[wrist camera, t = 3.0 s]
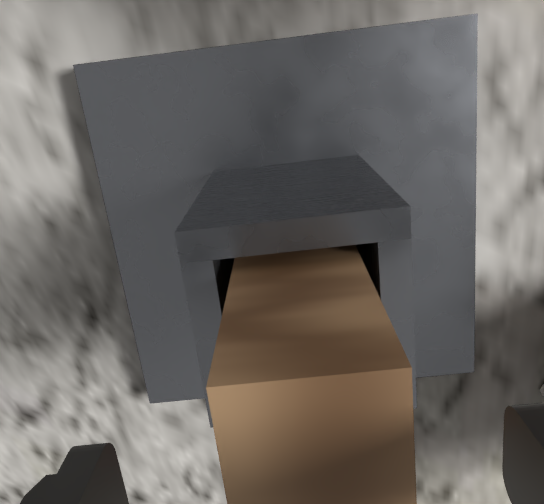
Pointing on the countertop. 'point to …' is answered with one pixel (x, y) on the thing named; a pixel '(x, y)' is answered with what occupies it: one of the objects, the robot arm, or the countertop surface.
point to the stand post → (311, 385)
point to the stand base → (291, 181)
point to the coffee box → (542, 390)
